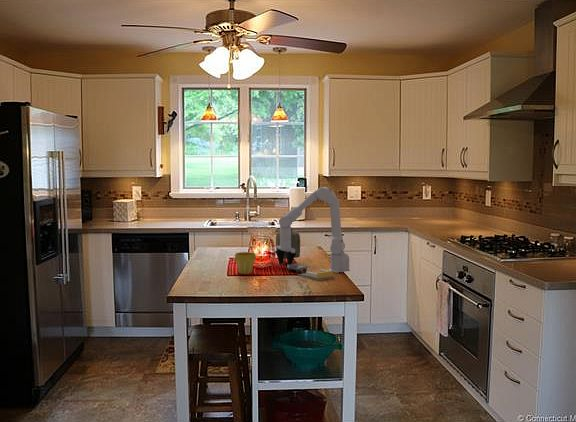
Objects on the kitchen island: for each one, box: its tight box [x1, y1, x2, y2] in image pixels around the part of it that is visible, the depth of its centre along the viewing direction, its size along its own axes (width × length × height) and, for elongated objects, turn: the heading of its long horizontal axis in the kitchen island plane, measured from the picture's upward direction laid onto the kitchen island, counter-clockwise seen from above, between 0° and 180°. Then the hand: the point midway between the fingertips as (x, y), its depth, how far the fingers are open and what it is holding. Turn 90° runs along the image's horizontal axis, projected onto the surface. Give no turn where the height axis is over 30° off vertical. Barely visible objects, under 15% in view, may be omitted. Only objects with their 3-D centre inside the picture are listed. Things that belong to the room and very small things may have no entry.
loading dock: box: [297, 269, 335, 281], centre depth 263 cm, size 10×16×4 cm, turn 37°
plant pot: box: [234, 251, 257, 275], centre depth 271 cm, size 10×10×10 cm
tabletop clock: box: [275, 227, 301, 265], centre depth 296 cm, size 14×9×25 cm, turn 22°
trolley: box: [286, 262, 308, 274], centre depth 274 cm, size 6×9×4 cm
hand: (285, 264), depth 282 cm, fingers open, 7 cm apart
